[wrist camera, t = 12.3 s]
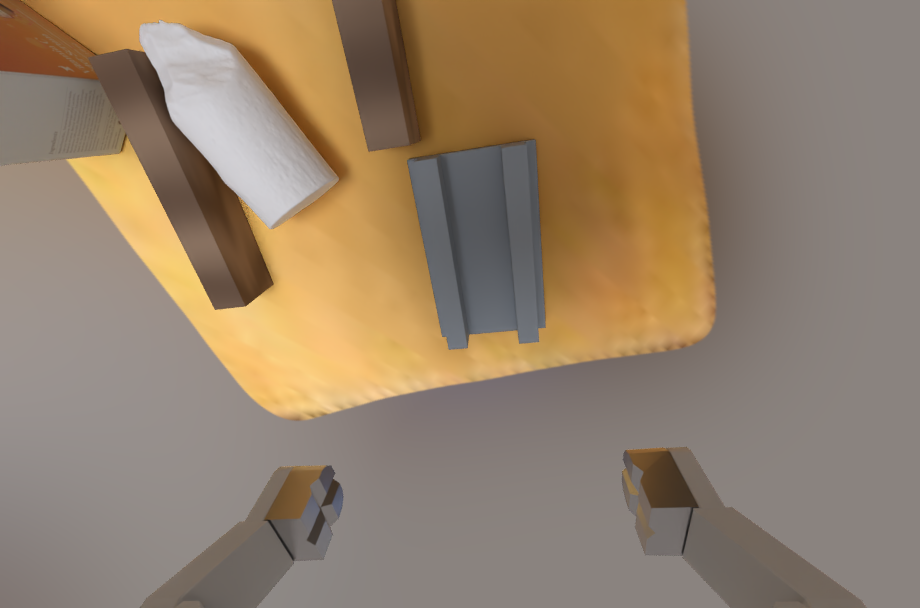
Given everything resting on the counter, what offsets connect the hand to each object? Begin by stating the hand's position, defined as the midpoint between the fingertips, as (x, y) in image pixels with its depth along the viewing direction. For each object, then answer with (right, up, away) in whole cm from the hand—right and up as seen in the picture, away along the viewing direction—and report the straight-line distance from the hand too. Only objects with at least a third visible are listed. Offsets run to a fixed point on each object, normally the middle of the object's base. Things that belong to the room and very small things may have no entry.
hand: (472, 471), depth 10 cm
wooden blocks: (-11, +14, +16) cm, 24 cm away
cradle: (+1, +9, +18) cm, 20 cm away
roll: (-14, +17, +15) cm, 27 cm away
